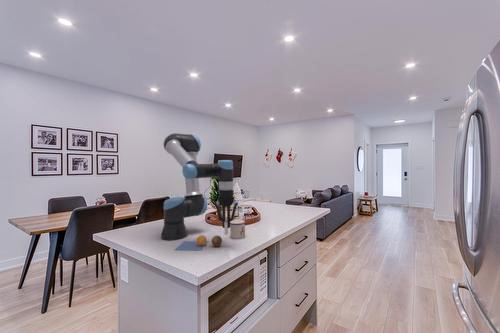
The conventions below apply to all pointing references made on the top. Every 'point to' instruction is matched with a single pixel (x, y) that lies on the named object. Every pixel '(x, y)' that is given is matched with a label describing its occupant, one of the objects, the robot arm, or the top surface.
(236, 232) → the teacup with lid
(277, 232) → the top surface
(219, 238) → the walnut ball
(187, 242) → the mark
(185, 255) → the top surface
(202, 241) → the orange ball
